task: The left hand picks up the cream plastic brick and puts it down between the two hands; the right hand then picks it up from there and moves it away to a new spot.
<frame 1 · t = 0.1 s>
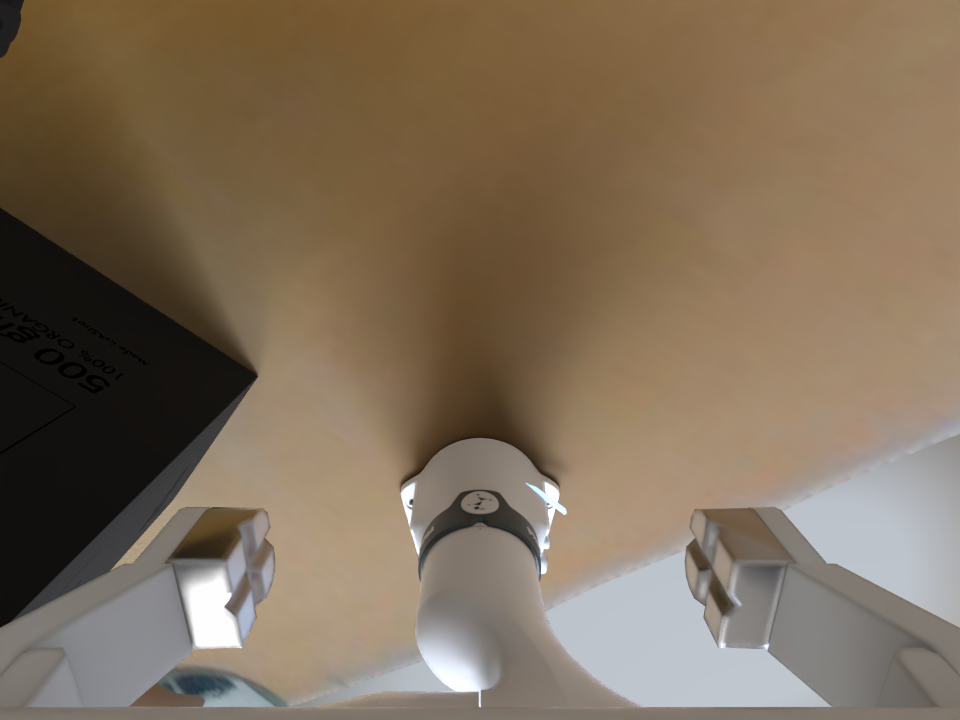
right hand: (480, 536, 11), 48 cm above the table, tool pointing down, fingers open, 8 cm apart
cardboard box: (59, 345, 60), on the table
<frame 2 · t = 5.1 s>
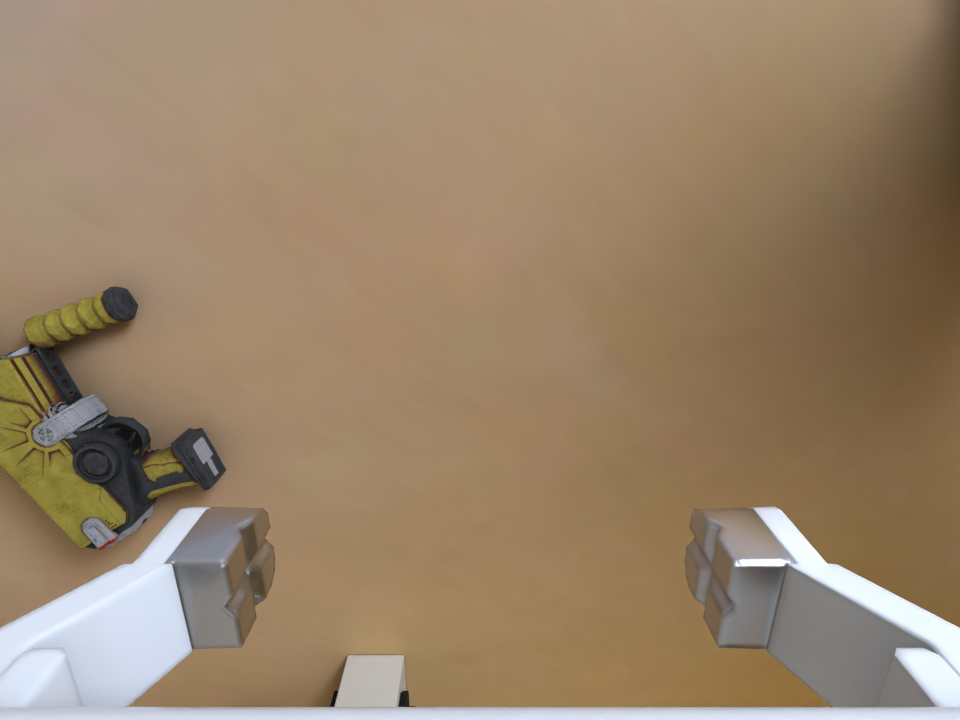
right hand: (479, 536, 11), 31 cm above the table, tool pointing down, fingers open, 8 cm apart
brick: (377, 675, 54), on the table, touching left hand
toy gun: (89, 369, 43), on the table
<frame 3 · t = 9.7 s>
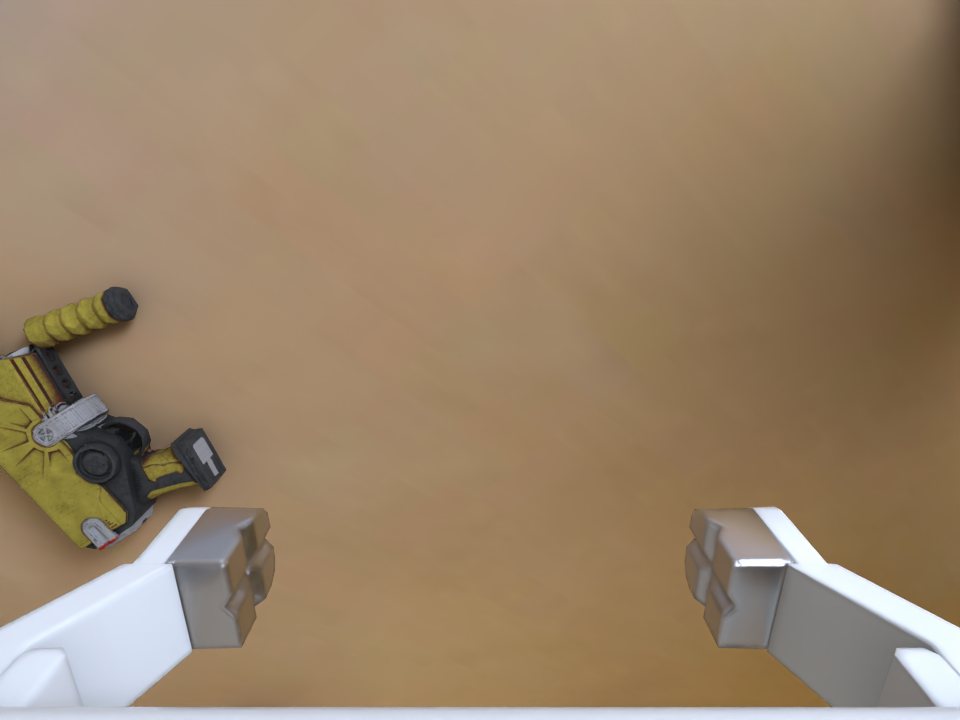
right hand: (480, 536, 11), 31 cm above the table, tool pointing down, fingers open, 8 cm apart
toy gun: (89, 369, 43), on the table
when the left hand's fingers open (4 cm above the table, at t = 14.4 s): brick stays where it is, on the table.
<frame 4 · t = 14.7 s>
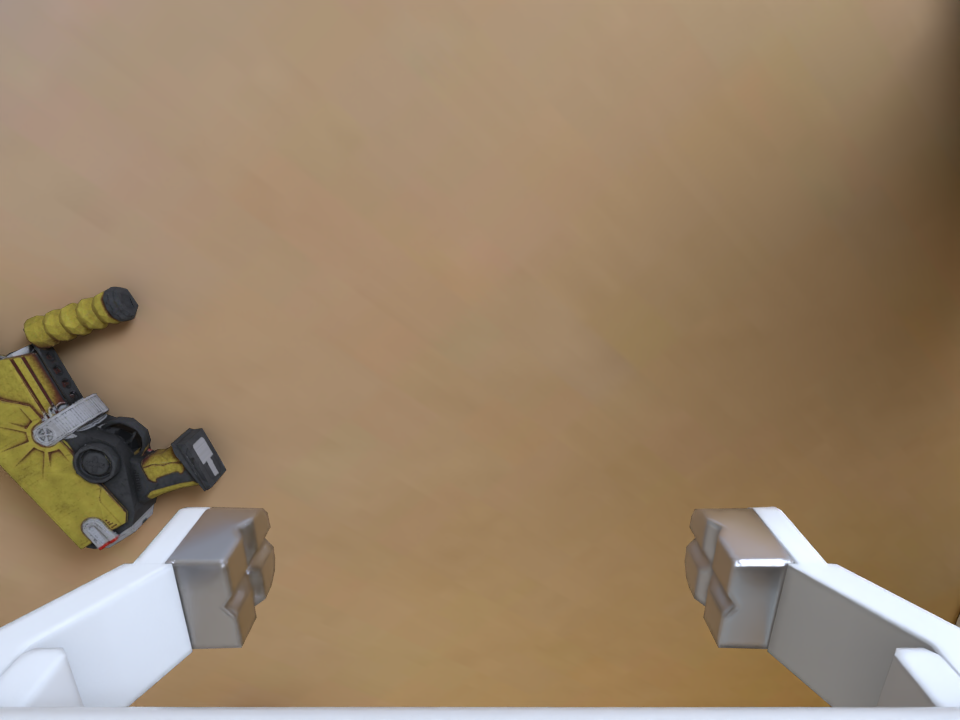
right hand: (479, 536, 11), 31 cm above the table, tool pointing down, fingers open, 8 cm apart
toy gun: (89, 369, 43), on the table
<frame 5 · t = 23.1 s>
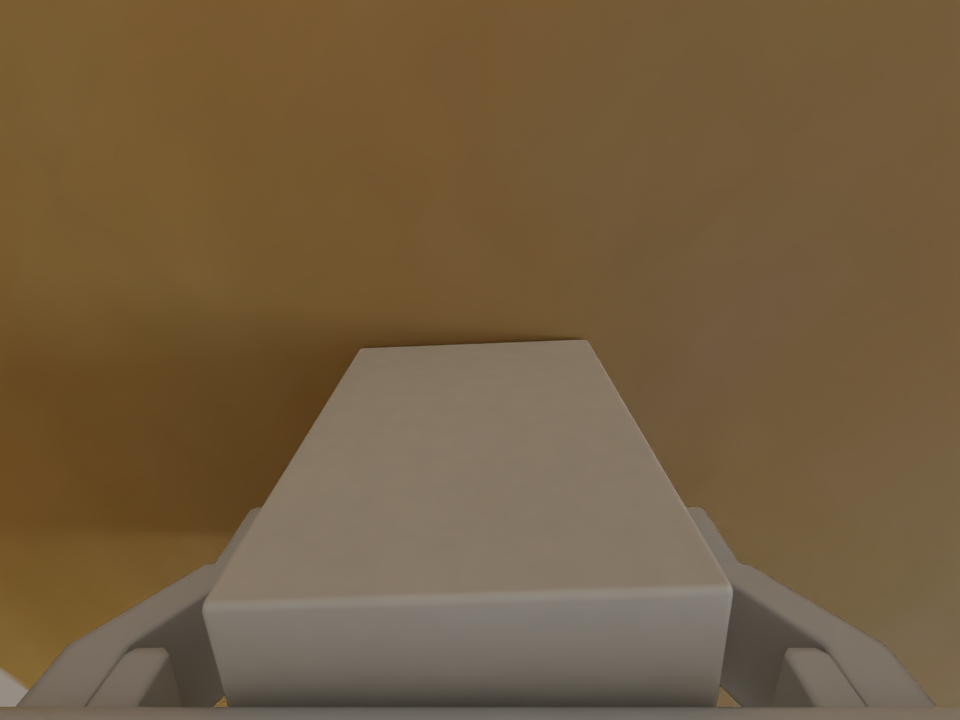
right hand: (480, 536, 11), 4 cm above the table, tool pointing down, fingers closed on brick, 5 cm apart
brick: (478, 443, 14), on the table, touching right hand
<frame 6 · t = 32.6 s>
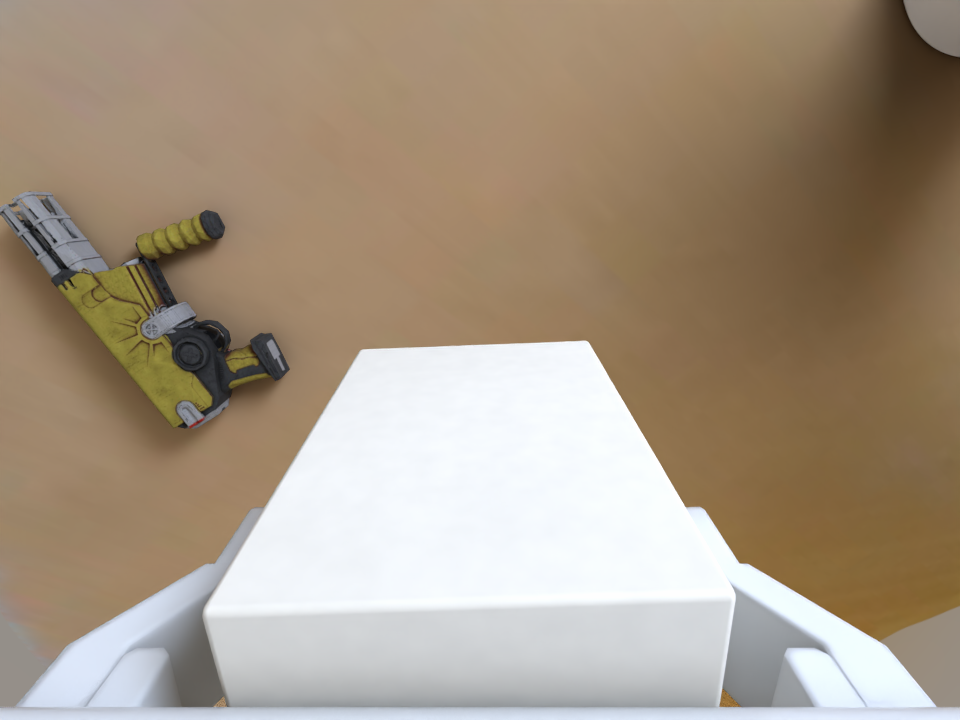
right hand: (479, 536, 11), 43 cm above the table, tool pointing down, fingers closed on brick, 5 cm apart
brick: (478, 445, 14), point 39 cm above the table, touching right hand
toy gun: (181, 282, 52), on the table
when the right hand's fingers open (4 cm above the table, at t = 42.1 s): brick stays where it is, on the table.
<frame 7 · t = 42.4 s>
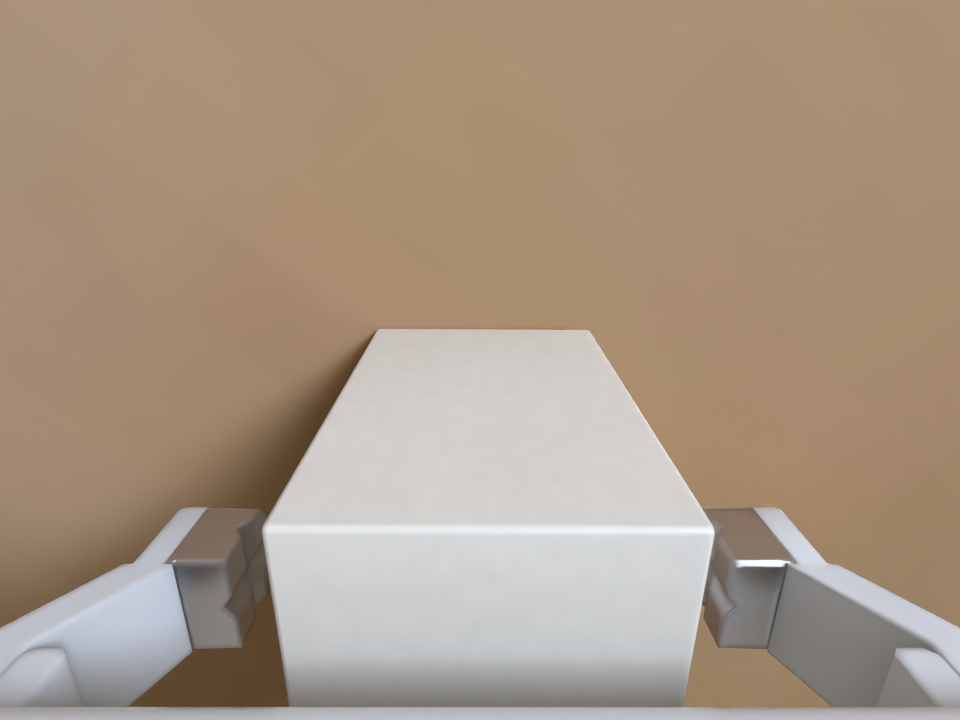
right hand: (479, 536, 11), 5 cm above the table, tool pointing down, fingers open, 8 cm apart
brick: (482, 423, 15), on the table
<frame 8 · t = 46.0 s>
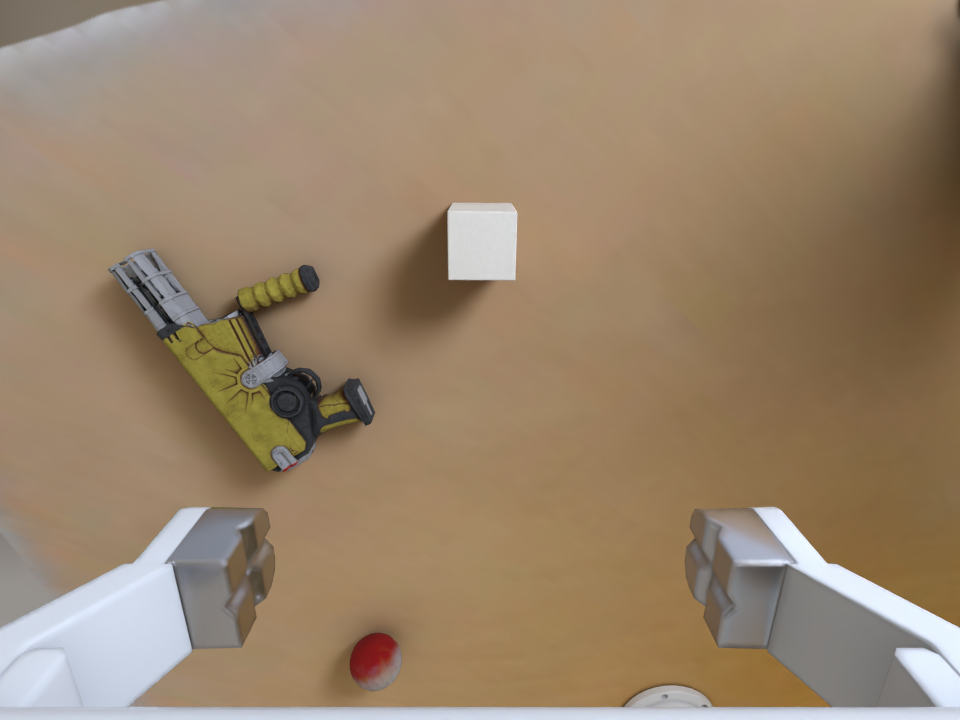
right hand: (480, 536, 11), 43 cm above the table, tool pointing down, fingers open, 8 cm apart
brick: (481, 233, 51), on the table
toy gun: (273, 330, 54), on the table
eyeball: (381, 639, 68), on the table
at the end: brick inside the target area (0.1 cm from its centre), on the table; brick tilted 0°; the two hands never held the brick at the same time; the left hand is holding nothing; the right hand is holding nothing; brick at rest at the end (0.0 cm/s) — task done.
